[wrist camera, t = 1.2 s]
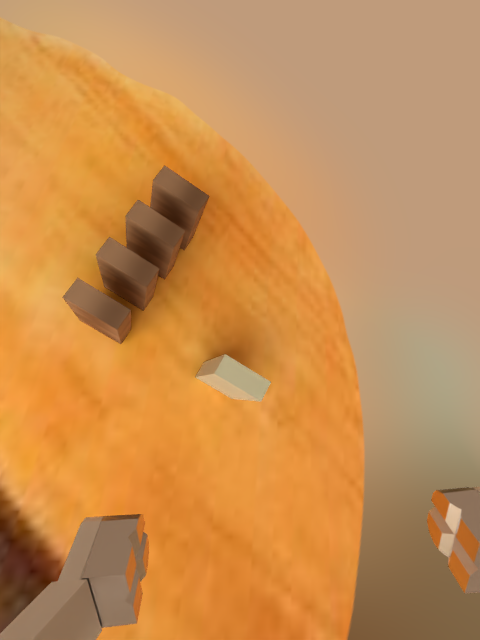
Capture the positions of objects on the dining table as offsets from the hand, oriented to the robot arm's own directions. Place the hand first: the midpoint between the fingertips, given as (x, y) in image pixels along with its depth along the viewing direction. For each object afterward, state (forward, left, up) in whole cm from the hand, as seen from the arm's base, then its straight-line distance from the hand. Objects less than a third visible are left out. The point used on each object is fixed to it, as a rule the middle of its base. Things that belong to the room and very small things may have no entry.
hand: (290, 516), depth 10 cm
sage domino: (+2, +6, -31) cm, 31 cm away
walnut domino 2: (-12, +14, -31) cm, 36 cm away
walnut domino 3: (-12, +10, -31) cm, 34 cm away
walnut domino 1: (-12, +19, -31) cm, 38 cm away
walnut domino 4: (-12, +5, -31) cm, 33 cm away
